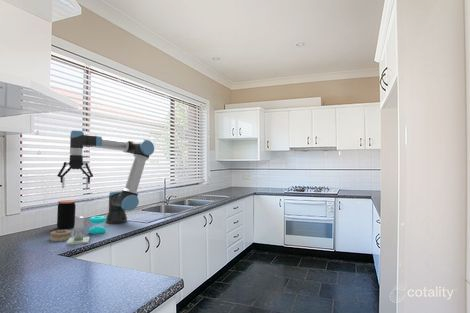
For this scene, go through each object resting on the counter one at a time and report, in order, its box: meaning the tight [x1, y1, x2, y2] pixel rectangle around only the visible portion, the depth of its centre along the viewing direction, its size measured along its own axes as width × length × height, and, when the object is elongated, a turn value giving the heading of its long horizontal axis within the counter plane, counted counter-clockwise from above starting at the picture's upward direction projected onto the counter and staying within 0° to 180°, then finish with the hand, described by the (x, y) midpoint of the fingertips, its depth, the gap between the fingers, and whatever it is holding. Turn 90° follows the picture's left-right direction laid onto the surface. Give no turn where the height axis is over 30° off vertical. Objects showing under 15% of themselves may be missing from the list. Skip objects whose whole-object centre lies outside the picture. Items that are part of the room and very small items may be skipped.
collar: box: [49, 229, 72, 242], centre depth 180 cm, size 10×10×4 cm
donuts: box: [88, 215, 107, 235], centre depth 197 cm, size 10×10×10 cm
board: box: [65, 236, 91, 246], centre depth 176 cm, size 11×11×1 cm
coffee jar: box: [56, 199, 77, 230], centre depth 208 cm, size 11×11×18 cm
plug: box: [73, 215, 85, 241], centre depth 176 cm, size 5×5×13 cm
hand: (75, 188), depth 194 cm, fingers open, 13 cm apart
